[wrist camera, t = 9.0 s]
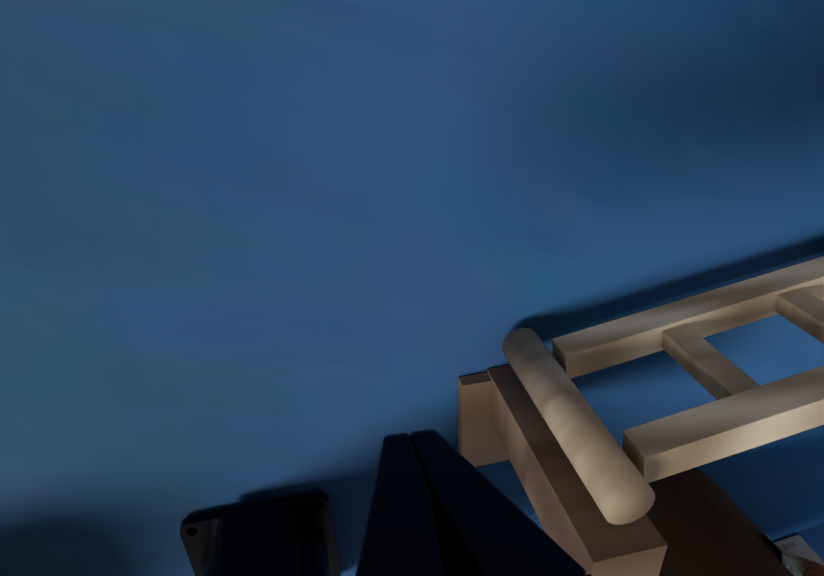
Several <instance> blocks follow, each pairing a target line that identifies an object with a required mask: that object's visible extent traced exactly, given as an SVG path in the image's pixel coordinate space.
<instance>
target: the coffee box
mask: <svg viewBox="0 0 824 576" xmlns="http://www.w3.org/2000/svg"><path fill="white" fill-rule="evenodd" d="M774 543H775V544H776V545H777V546H778V548H779V549H780V550H781V551H782V552H783V554H784V556H785V557H786V558H787V559H788V560H789V561H790V562H791V563H792V564H793V565H794V566H795V567H796V569H797V570H798V571H799V572H800V573H801V574H802V575H803V576H824V561H823V560H822V559H821V558H820V557H819V556H818V555H817V554H816V553H815V552H814V551H813V549H812V548H811V547H810V546H809V545H808V544H807V543H806V542H805V540H804V539H803V538H802V537H801V536H800V535H796V536H792V537H789V538H786V539H783V540H780V541H777V542H774Z"/></svg>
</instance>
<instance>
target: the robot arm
mask: <svg viewBox="0 0 824 576" xmlns="http://www.w3.org/2000/svg"><path fill="white" fill-rule="evenodd" d="M317 502H320V503H317ZM180 535H181V538H182V541H183V544H184V546H185V549H186V552H187V555H188V557H189V560H190V563H191V566H192V568H193V571H194V574H195V576H341V573H340V566H339V560H338V553H337V547H336V541H335V534H334V528H333V522H332V515H331V509H330V503H329V497H328V495H327V494H326V493H325V492H313V493H308V494H302V495H297V496H292V497H287V498H282V499H277V500H272V501H267V502H261V503H256V504H251V505H246V506H241V507H236V508H231V509H226V510H220V511H215V512H210V513H205V514H200V515H195V516H190V517H187V518H185V519H184V520H183V521H182V523H181V527H180ZM356 576H592V575H591V574H587V575H586V570H585V569H584V568H583V567H582V566H581V565H580V564H579V563H577V562H576V561H575V560H574V559H573V558H572V557H571V556H570V555H569V554H568V553H567V552H566V551H565V550H563V549H562V548H561V547H560V546H559V545H558V544H557V543H556V542H555V541H554V540H553V539H552V538H551V537H550V536H548V535H547V534H546V533H545V532H544V531H543V530H542V529H541V528H540V527H539V526H538V525H537V524H536V523H534V522H533V521H532V520H531V519H530V518H529V517H528V516H527V515H526V514H525V513H524V512H523V511H522V510H520V509H519V508H518V507H517V506H516V505H515V504H514V503H513V502H512V501H511V500H510V499H509V498H508V497H507V496H505V495H504V494H503V493H502V492H501V491H500V490H499V489H498V488H497V487H496V486H495V485H494V484H493V483H491V482H490V481H489V480H488V479H487V478H486V477H485V476H484V475H483V474H482V473H481V472H480V471H479V470H477V469H476V468H475V467H474V466H473V465H472V464H471V463H470V462H469V461H468V460H467V459H466V458H465V457H464V456H462V455H461V454H460V453H459V452H458V451H457V450H456V449H455V448H454V447H453V446H452V445H451V444H450V443H448V442H447V441H446V440H445V439H444V438H443V437H442V436H441V435H440V434H439V433H438V432H437V431H435V430H433V429H428V430H421V431H414V432H412V433H411V434H410V435H408V434H407V433H400V434H393V435H387V436H385V437H384V439H383V444H382V448H381V453H380V458H379V463H378V468H377V473H376V478H375V483H374V488H373V492H372V497H371V502H370V507H369V512H368V517H367V522H366V527H365V532H364V536H363V541H362V546H361V551H360V556H359V561H358V566H357V571H356Z"/></svg>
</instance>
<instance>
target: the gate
mask: <svg viewBox="0 0 824 576" xmlns="http://www.w3.org/2000/svg"><path fill="white" fill-rule="evenodd" d="M822 300H824V256H822V257H819V258H816V259H812V260H809V261H806V262H803V263H799V264H796V265H793V266H790V267H786V268H783V269H780V270H776V271H773V272H770V273H767V274H763V275H760V276H757V277H753V278H750V279H747V280H744V281H740V282H737V283H734V284H731V285H727V286H724V287H721V288H717V289H714V290H711V291H708V292H704V293H701V294H698V295H694V296H691V297H688V298H685V299H681V300H678V301H675V302H672V303H668V304H665V305H662V306H658V307H655V308H652V309H649V310H645V311H642V312H639V313H635V314H632V315H629V316H626V317H622V318H619V319H616V320H613V321H609V322H606V323H603V324H599V325H596V326H593V327H590V328H586V329H583V330H580V331H576V332H573V333H570V334H567V335H563V336H560V337H557V338H554V339H552V346H553V355H552V354H551V352H550V351H549V350H548V348H547V347H546V346H545V344H544V343H543V342H542V340H541V339H540V338H539V336H538V335H537V334H536V332H535V331H534V330H532V329H530V328H519V329H516V330H514V331H512V332H511V333H510V334H508V335H507V337H506V338H505V339H504V341H503V344H502V351H503V353H504V355H505V357H506V358H507V360H508V361H509V363H510V365H511V366H512V368H513V370H514V371H515V373H516V374H517V376H518V378H519V379H520V381H521V383H522V384H523V386H524V387H525V389H526V391H527V392H528V394H529V396H530V397H531V399H532V400H533V402H534V404H535V405H536V407H537V408H538V410H539V412H540V413H541V415H542V417H543V418H544V420H545V421H546V423H547V425H548V426H549V428H550V430H551V431H552V433H553V434H554V436H555V438H556V439H557V441H558V443H559V444H560V446H561V447H562V449H563V451H564V452H565V454H566V456H567V457H568V459H569V460H570V462H571V464H572V465H573V467H574V469H575V470H576V472H577V473H578V475H579V477H580V478H581V480H582V482H583V483H584V485H585V486H586V488H587V490H588V491H589V493H590V494H591V496H592V498H593V499H594V501H595V503H596V504H597V506H598V507H599V509H600V511H601V512H602V514H603V516H604V517H605V519H606V520H607V521H608V522H609V523H611V524H615V525H622V524H627V523H630V522H633V521H635V520H637V519H639V518H640V517H642V516H643V515H644V514H646V513H647V512H648V511H649V510H650V508H651V507H652V505H653V503H654V501H655V493H654V491H653V490H652V488H651V487H650V486H649V484H648V483H650V482H653V481H656V480H659V479H662V478H665V477H668V476H671V475H674V474H677V473H680V472H683V471H686V470H689V469H692V468H695V467H698V466H701V465H704V464H707V463H710V462H713V461H716V460H719V459H722V458H725V457H728V456H731V455H734V454H737V453H740V452H743V451H746V450H749V449H752V448H755V447H758V446H761V445H764V444H767V443H770V442H773V441H776V440H779V439H782V438H785V437H788V436H791V435H794V434H797V433H800V432H803V431H806V430H809V429H812V428H815V427H818V426H821V425H824V366H821V367H818V368H815V369H812V370H809V371H806V372H803V373H800V374H797V375H793V376H790V377H787V378H784V379H781V380H778V381H775V382H772V383H769V384H766V385H763V386H760V385H758V384H757V383H756V382H755V381H754V380H752V379H751V378H750V377H749V376H748V375H746V374H745V373H744V372H743V371H742V370H740V369H739V368H738V367H737V366H736V365H734V364H733V363H732V362H731V361H730V360H728V359H727V358H726V357H725V356H724V355H722V354H721V353H720V352H719V351H718V350H716V349H715V348H714V347H713V346H712V345H710V344H709V343H708V342H707V341H706V340H705V339H703V337H707V336H710V335H713V334H716V333H719V332H723V331H726V330H729V329H732V328H735V327H739V326H742V325H745V324H748V323H751V322H755V321H758V320H761V319H764V318H767V317H771V316H774V315H777V314H780V315H781V316H783V317H784V318H786V319H787V320H789V321H790V322H792V323H793V324H795V325H796V326H798V327H799V328H801V329H802V330H804V331H806V332H807V333H809V334H810V335H812V336H813V337H815V338H816V339H818V340H819V341H821V342H822V343H824V301H822ZM662 350H665V351H666V352H667V353H668V354H669V355H670V356H671V357H672V358H673V359H674V360H676V361H677V362H678V363H679V364H680V365H681V366H682V367H683V368H684V369H685V370H686V371H687V372H688V373H689V374H690V375H691V376H692V377H693V378H695V379H696V380H697V381H698V382H699V383H700V384H701V385H702V386H703V387H704V388H705V389H706V390H707V391H708V392H709V393H710V394H711V395H712V396H713V397H715V398H716V399H717V400H716V401H713V402H710V403H707V404H704V405H701V406H698V407H695V408H691V409H688V410H685V411H682V412H679V413H676V414H673V415H670V416H667V417H664V418H661V419H657V420H654V421H651V422H648V423H645V424H642V425H639V426H636V427H633V428H630V429H627V430H623V449H622V448H621V447H620V445H619V444H618V442H617V441H616V440H615V438H614V437H613V436H612V434H611V433H610V432H609V430H608V429H607V428H606V426H605V425H604V424H603V422H602V421H601V420H600V418H599V417H598V416H597V414H596V413H595V412H594V410H593V409H592V407H591V406H590V405H589V403H588V402H587V401H586V399H585V398H584V397H583V395H582V394H581V393H580V391H579V390H578V389H577V387H576V386H575V385H574V383H573V382H572V381H571V379H572V378H575V377H579V376H582V375H585V374H588V373H591V372H595V371H598V370H601V369H604V368H607V367H611V366H614V365H617V364H620V363H623V362H627V361H630V360H633V359H636V358H639V357H643V356H646V355H649V354H652V353H655V352H659V351H662Z"/></svg>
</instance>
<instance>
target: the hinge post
mask: <svg viewBox="0 0 824 576" xmlns="http://www.w3.org/2000/svg"><path fill="white" fill-rule="evenodd" d="M458 452H459V453H460V454H461V455H462V456H464V457H465V458H466V459H467V460H468V461H469V462H470V463H471V464H472V465H473V466H474V467H477V466H482V465H487V464H492V463H497V462H502V461H507V460H510V461H511V463H512V465H513V467H514V469H515V471H516V474H517V476H518V478H519V480H520V482H521V484H522V486H523V488H524V490H525V492H526V494H527V496H528V498H529V500H530V502H531V504H532V506H533V508H534V510H535V512H536V514H537V516H538V518H539V520H540V522H541V524H542V526H543V528H544V530H545V532H546V534H547V535H548V536H550V537H551V538H552V539H553V540H554V541H555V542H556V543H557V544H558V545H559V546H560V547H561V548H562V549H563V550H565V551H566V552H567V553H568V554H569V555H570V556H571V557H572V558H573V559H574V560H575V561H576V562H577V563H579V564H580V565H581V566H582V567H583V568H584V569H585V570H586V575H587V574H591V575H592V576H659V573H660V570H661V566H662V563H663V559H664V556H665V553H666V549H667V546H668V545H667V543H666V542H665V541H664V539H663V538H662V536H661V535H660V533H659V532H658V531H657V529H656V528H655V526H654V525H653V523H652V522H651V521H650V519H649V518H648V516H647V515H646V514H644V515H643V516H642V517H640V518H639V519H637V520H635V521H633V522H630V523H627V524H622V525H615V524H611V523H609V522H608V521H607V520H606V519H605V517H604V516H603V514H602V512H601V511H600V509H599V507H598V506H597V504H596V503H595V501H594V499H593V498H592V496H591V494H590V493H589V491H588V490H587V488H586V486H585V485H584V483H583V482H582V480H581V478H580V477H579V475H578V473H577V472H576V470H575V469H574V467H573V465H572V464H571V462H570V460H569V459H568V457H567V456H566V454H565V452H564V451H563V449H562V447H561V446H560V444H559V443H558V441H557V439H556V438H555V436H554V434H553V433H552V431H551V430H550V428H549V426H548V425H547V423H546V421H545V420H544V418H543V417H542V415H541V413H540V412H539V410H538V408H537V407H536V405H535V404H534V402H533V400H532V399H531V397H530V396H529V394H528V392H527V391H526V389H525V387H524V386H523V384H522V383H521V381H520V379H519V378H518V376H517V374H516V373H515V371H514V370H513V368H512V366H511V365H507V366H501V367H495V368H489V369H487V372H486V373H480V374H474V375H468V376H463V377H458Z"/></svg>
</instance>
